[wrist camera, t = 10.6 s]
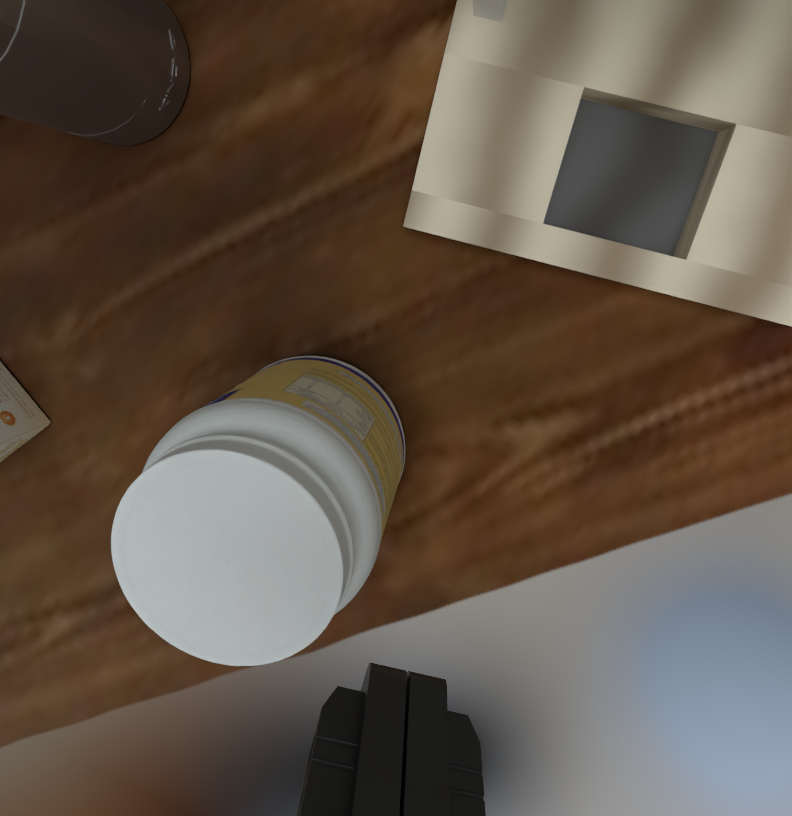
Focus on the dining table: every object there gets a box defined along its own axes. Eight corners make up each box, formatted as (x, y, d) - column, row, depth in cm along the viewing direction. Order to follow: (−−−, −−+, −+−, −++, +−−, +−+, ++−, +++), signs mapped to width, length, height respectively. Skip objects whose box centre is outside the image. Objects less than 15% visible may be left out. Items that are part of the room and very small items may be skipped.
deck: (408, 227, 38) (402, 226, 34) (549, -356, 30) (559, -433, 27) (781, 323, 37) (813, 332, 33) (1030, -258, 29) (1106, -326, 25)
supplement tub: (267, 322, 41) (130, 375, 24) (437, 397, 40) (412, 501, 24) (211, 479, 44) (59, 617, 28) (367, 548, 44) (305, 727, 28)
